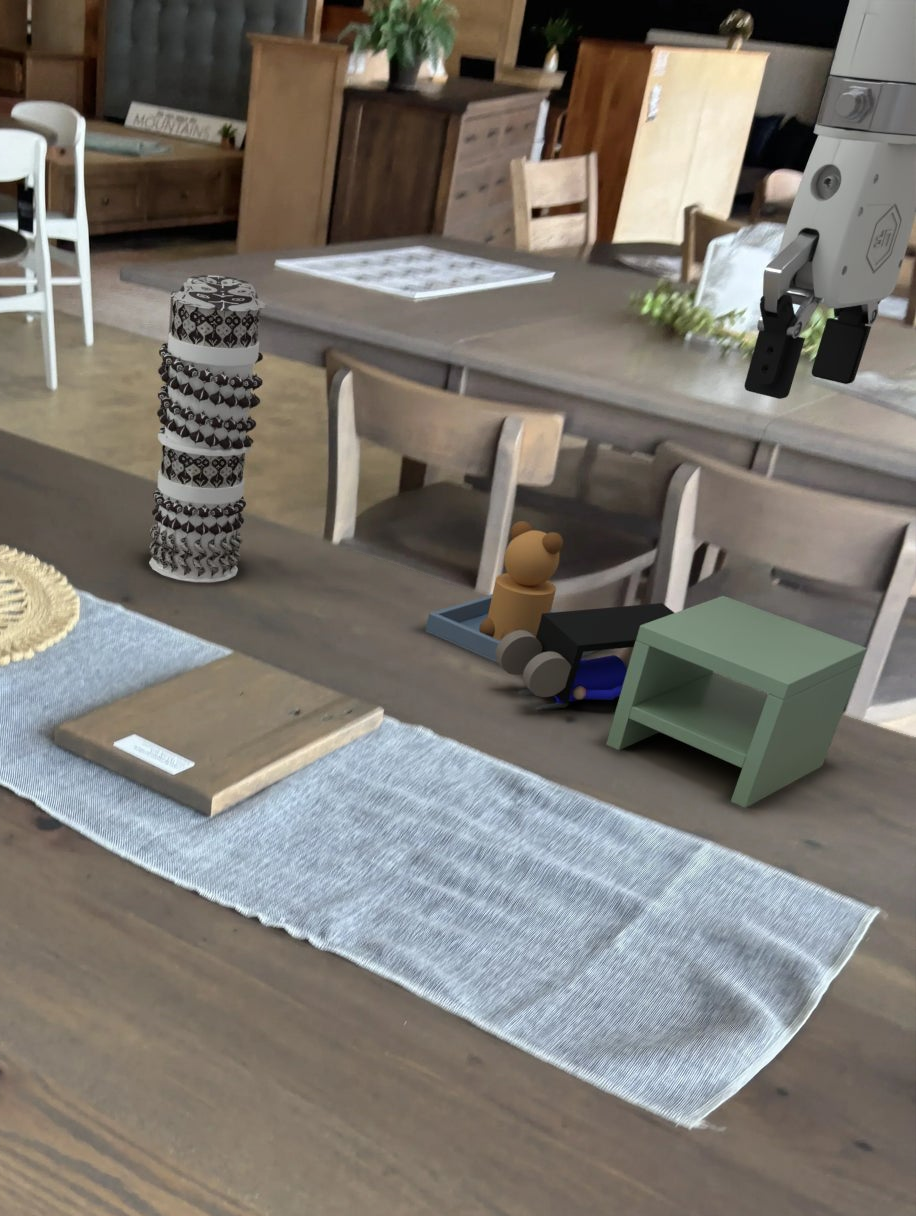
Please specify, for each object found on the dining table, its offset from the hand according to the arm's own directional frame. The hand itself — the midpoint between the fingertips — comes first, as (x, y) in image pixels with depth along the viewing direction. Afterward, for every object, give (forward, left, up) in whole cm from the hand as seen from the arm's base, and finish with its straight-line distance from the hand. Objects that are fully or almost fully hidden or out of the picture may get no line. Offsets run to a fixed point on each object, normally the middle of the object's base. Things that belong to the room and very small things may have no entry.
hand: (799, 386), depth 103 cm
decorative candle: (+16, -45, -26) cm, 54 cm away
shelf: (+8, +6, -25) cm, 27 cm away
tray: (+3, -17, -25) cm, 31 cm away
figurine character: (+8, -6, -26) cm, 27 cm away
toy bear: (+3, -17, -25) cm, 30 cm away
